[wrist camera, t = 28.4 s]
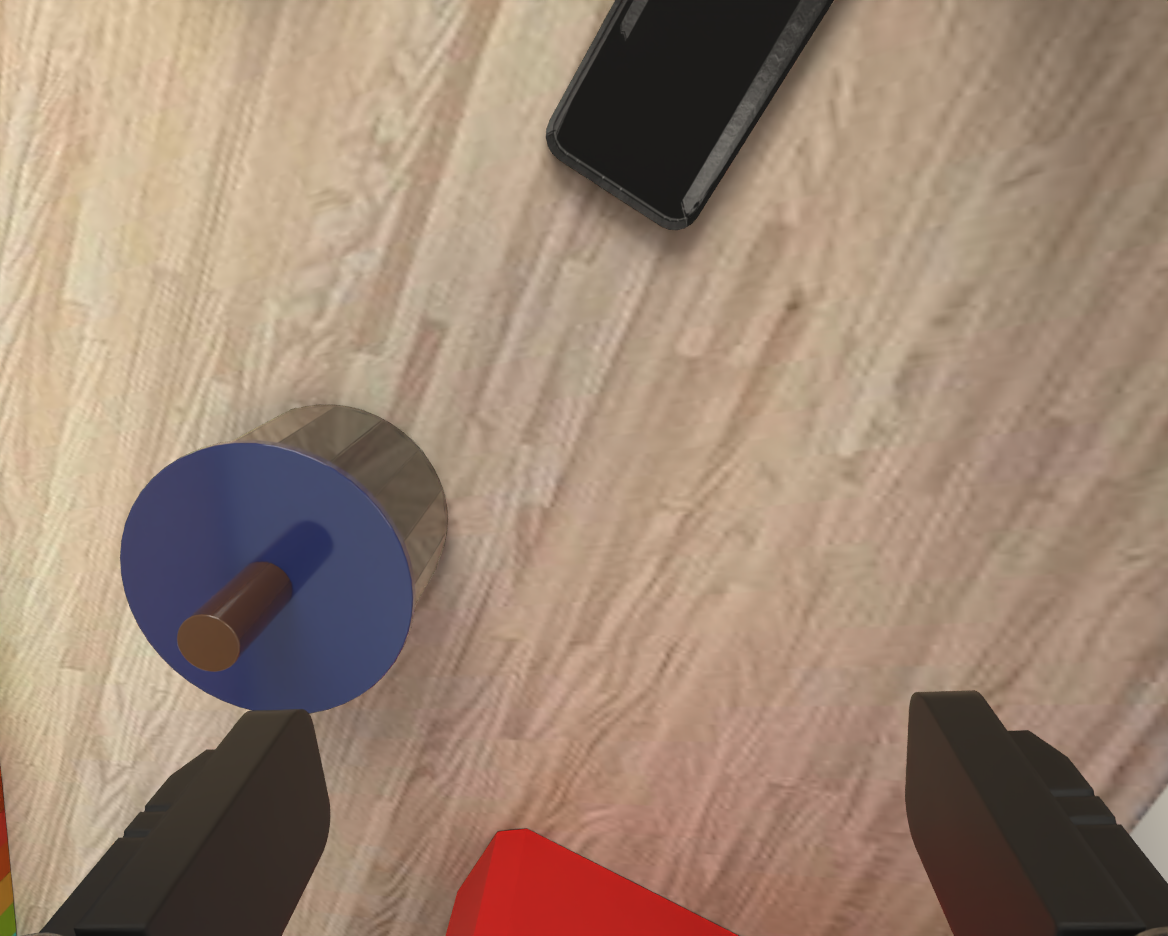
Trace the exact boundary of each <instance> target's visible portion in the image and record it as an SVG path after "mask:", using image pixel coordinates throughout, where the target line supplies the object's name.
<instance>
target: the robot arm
mask: <svg viewBox="0 0 1168 936" xmlns="http://www.w3.org/2000/svg"><path fill="white" fill-rule="evenodd" d="M905 802H906V811H907V818H908V823H909V828H910V832H911V836H912V839H913V842H914V845H915V847H916V850H917V852H918V854H919V857H920V859H921V861H922V863H923V866H924V868H925V870H926V873H927V875H928V877H929V879H930V882H931V884H932V886H933V889H934V891H935V893H936V896H937V898H938V900H939V902H940V905H941V907H942V909H943V912H944V914H945V916H946V918H947V921H948V923H949V925H950V928H951V930H952V932H953V934H954V936H1168V883H1167V882H1166V881H1165V880H1164V878H1163V877H1162V876H1161V875H1160V873H1159V872H1158V871H1157V870H1156V868H1155V867H1154V866H1153V864H1152V863H1151V862H1150V861H1149V859H1148V858H1147V857H1146V856H1145V854H1144V853H1143V852H1142V851H1141V849H1140V848H1139V847H1138V845H1137V844H1136V843H1135V842H1134V840H1133V839H1132V838H1131V837H1130V835H1129V834H1128V833H1127V832H1126V830H1125V829H1124V828H1123V826H1122V825H1117V823H1116V820H1115V816H1114V815H1113V814H1112V813H1111V811H1110V810H1109V809H1108V807H1107V806H1106V805H1105V804H1104V802H1103V801H1102V800H1101V799H1100V797H1099V796H1095V795H1094V791H1093V789H1092V787H1091V786H1090V785H1089V783H1088V782H1087V781H1086V780H1085V778H1084V777H1083V776H1082V775H1081V773H1080V772H1079V771H1078V770H1077V768H1076V767H1075V766H1074V764H1073V763H1072V762H1071V761H1070V759H1069V758H1068V757H1067V756H1065V755H1064V754H1062V753H1061V752H1059V751H1058V750H1056V749H1055V748H1054V747H1052V746H1051V745H1049V744H1048V743H1046V742H1045V741H1043V740H1042V739H1040V738H1039V737H1037V736H1036V735H1035V734H1033V733H1032V732H1030V731H1029V730H1025V731H1007V730H1006V728H1005V727H1004V725H1003V724H1002V723H1001V721H1000V720H999V718H998V717H997V716H996V714H995V713H994V711H993V710H992V709H991V707H990V706H989V704H988V703H987V702H986V700H985V699H984V697H983V696H982V695H981V694H980V693H979V692H977V691H975V690H974V691H941V692H915V693H914V694H913V695H912V697H911V700H910V706H909V723H908V744H907V765H906V785H905ZM329 827H330V802H329V797H328V792H327V787H326V782H325V778H324V773H323V768H322V763H321V758H320V754H319V749H318V744H317V739H316V734H315V730H314V725H313V721H312V719H311V716H310V715H309V713H308V712H307V711H306V710H304V709H287V710H254V711H248V712H246V713H245V714H244V715H243V716H242V717H241V718H240V719H239V720H238V722H237V723H236V724H235V725H234V727H233V728H232V729H231V731H230V732H229V733H228V734H227V736H226V737H225V738H224V739H223V741H222V742H221V743H220V744H219V746H218V747H217V748H216V749H215V750H206V751H204V752H203V753H201V754H200V755H199V756H197V757H196V758H194V759H193V760H192V761H190V762H189V763H187V764H186V765H185V766H183V767H182V768H181V769H179V770H178V771H176V772H175V773H174V774H172V775H171V776H170V777H169V778H168V779H167V780H166V782H165V783H164V784H163V785H162V786H161V788H160V789H159V790H158V791H157V792H156V794H155V795H154V796H153V797H152V798H151V800H150V801H149V802H148V803H147V804H146V806H145V811H144V812H140V813H139V814H138V815H137V816H136V818H135V819H134V820H133V821H132V822H131V823H130V825H129V826H128V827H127V828H126V829H125V831H124V836H123V838H118V839H117V840H116V841H115V843H114V844H113V845H112V846H111V847H110V849H109V850H108V851H107V852H106V853H105V855H104V856H103V857H102V858H101V859H100V861H99V862H98V863H97V864H96V865H95V866H94V868H93V869H92V870H91V871H90V872H89V874H88V875H87V876H86V877H85V878H84V880H83V881H82V882H81V883H80V884H79V886H78V887H77V888H76V889H75V890H74V892H73V893H72V894H71V895H70V896H69V898H68V899H67V900H66V901H65V902H64V904H63V905H62V906H61V907H60V908H59V909H58V911H57V912H56V913H55V914H54V915H53V917H52V918H51V919H50V920H49V921H48V923H47V924H46V925H45V926H44V927H43V929H42V930H41V931H40V932H39V933H34V934H28V935H23V936H282V934H283V932H284V930H285V928H286V926H287V924H288V922H289V920H290V918H291V916H292V914H293V912H294V910H295V908H296V906H297V904H298V902H299V900H300V898H301V896H302V894H303V892H304V890H305V888H306V886H307V884H308V882H309V880H310V878H311V876H312V874H313V872H314V869H315V867H316V865H317V863H318V861H319V859H320V857H321V855H322V853H323V851H324V848H325V845H326V842H327V838H328V833H329Z"/></svg>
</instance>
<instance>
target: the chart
mask: <svg viewBox="0 0 1168 936" xmlns="http://www.w3.org/2000/svg"><path fill="white" fill-rule="evenodd" d="M10 871H11V870H10V860H9V850H8V839H7V829H6V819H5V809H4V798H3V788H2V778H1V768H0V936H16V925H15V915H14V905H13V902H14V901H13V891H12V881H11V872H10Z"/></svg>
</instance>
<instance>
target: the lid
mask: <svg viewBox="0 0 1168 936" xmlns="http://www.w3.org/2000/svg"><path fill="white" fill-rule="evenodd" d="M120 563H121V576H122V581H123V586H124V591H125V594H126V597H127V600H128V603H129V606H130V609H131V611H132V613H133V615H134V617H135V619H136V622H137V624H138V626H139V627H140V629H141V631H142V632H143V634H144V635H145V637H146V638H147V640H148V641H149V643H150V644H151V645H152V647H153V648H154V649H155V650H156V651H157V653H158V654H159V655H160V656H161V657H162V658H163V659H164V660H165V661H166V662H167V663H168V664H169V665H170V666H171V667H172V668H173V669H174V670H175V671H176V672H177V673H179V674H180V675H181V676H182V677H184V678H185V679H186V680H187V681H189V682H190V683H192V684H193V685H195V686H196V687H198V688H199V689H201V690H203V691H204V692H206V693H208V694H210V695H212V696H214V697H216V698H218V699H220V700H222V701H225V702H227V703H230V704H233V705H235V706H238V707H241V708H245V709H249V710H253V711H254V710H287V709H304V710H306V711H307V712H308V713H314V712H319V711H324V710H328V709H331V708H334V707H337V706H339V705H342V704H345V703H347V702H349V701H351V700H353V699H354V698H356V697H358V696H360V695H361V694H363V693H364V692H366V691H367V690H369V689H370V688H371V687H373V686H374V685H375V684H376V683H377V682H378V681H379V680H380V679H381V678H382V677H383V676H384V675H385V674H386V673H387V672H388V670H389V669H390V668H391V666H392V665H393V664H394V663H395V661H396V659H397V657H398V656H399V654H400V652H401V650H402V648H403V647H404V645H405V643H406V640H407V638H408V635H409V632H410V629H411V626H412V621H413V617H414V612H415V596H416V592H415V580H414V573H413V569H412V564H411V560H410V556H409V554H408V551H407V548H406V546H405V543H404V540H403V538H402V536H401V534H400V532H399V530H398V529H397V527H396V525H395V523H394V521H393V520H392V518H391V517H390V516H389V514H388V513H387V511H386V510H385V508H384V507H383V506H382V505H381V503H380V502H379V501H378V500H377V499H376V498H375V497H374V496H373V494H372V493H371V492H370V491H369V490H368V489H367V488H365V487H364V486H363V485H362V484H361V483H360V482H359V481H358V480H356V479H355V478H354V477H353V476H351V475H350V474H348V473H347V472H346V471H344V470H343V469H341V468H340V467H338V466H337V465H335V464H333V463H331V462H329V461H328V460H326V459H324V458H322V457H320V456H318V455H315V454H313V453H310V452H308V451H305V450H303V449H300V448H297V447H293V446H289V445H285V444H281V443H276V442H268V441H261V440H237V441H230V442H222V443H217V444H214V445H210V446H206V447H203V448H200V449H198V450H196V451H193V452H191V453H189V454H186V455H184V456H182V457H181V458H179V459H177V460H176V461H174V462H173V463H171V464H169V465H168V466H166V467H165V468H164V469H163V470H161V471H160V472H159V473H158V474H157V475H156V476H155V477H153V478H152V479H151V480H150V482H149V483H148V484H147V485H146V486H145V488H144V489H143V490H142V491H141V492H140V494H139V496H138V498H137V499H136V501H135V503H134V504H133V506H132V508H131V510H130V513H129V516H128V518H127V521H126V523H125V527H124V532H123V536H122V540H121V554H120Z"/></svg>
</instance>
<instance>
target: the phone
mask: <svg viewBox="0 0 1168 936" xmlns="http://www.w3.org/2000/svg"><path fill="white" fill-rule="evenodd" d="M833 1H834V0H615V2H614V4H613V5H612V7H611V9H610V11H609V13H608V15H607V16H606V18H605V20H604V22H603V24H602V25H601V27H600V29H599V31H598V33H597V35H596V36H595V38H594V40H593V42H592V44H591V46H590V47H589V49H588V51H587V53H586V55H585V57H584V58H583V60H582V62H581V64H580V66H579V67H578V69H577V71H576V73H575V75H574V77H573V78H572V80H571V82H570V84H569V86H568V88H567V89H566V91H565V93H564V95H563V97H562V99H561V100H560V102H559V104H558V106H557V108H556V109H555V111H554V113H553V115H552V117H551V119H550V120H549V123H548V126H547V129H546V140H547V145H548V147H549V149H550V151H551V152H552V154H553V155H554V156H555V157H556V158H557V159H559V160H560V161H561V162H563V163H564V164H566V165H568V166H569V167H571V168H572V169H574V170H575V171H577V172H578V173H580V174H581V175H583V176H584V177H586V178H588V179H589V180H591V181H592V182H594V183H595V184H597V185H598V186H600V187H601V188H603V189H604V190H606V191H608V192H609V193H611V194H612V195H614V196H615V197H617V198H618V199H620V200H621V201H623V202H624V203H626V204H628V205H629V206H631V207H632V208H634V209H635V210H637V211H638V212H640V213H641V214H643V215H644V216H646V217H648V218H649V219H651V220H652V221H654V222H655V223H657V224H658V225H660V226H662V227H664V228H666V229H669V230H680V229H684V228H686V227H688V226H689V225H691V224H692V223H693V222H694V221H695V220H696V218H697V217H698V216H699V214H700V212H701V211H702V209H703V208H704V206H705V205H706V203H707V201H708V200H709V198H710V197H711V195H712V193H713V192H714V190H715V189H716V187H717V185H718V184H719V182H720V181H721V179H722V178H723V176H724V174H725V173H726V171H727V170H728V168H729V166H730V165H731V163H732V162H733V160H734V158H735V157H736V155H737V154H738V152H739V150H740V149H741V147H742V146H743V144H744V143H745V141H746V139H747V138H748V136H749V135H750V133H751V131H752V130H753V128H754V127H755V125H756V123H757V122H758V120H759V119H760V117H761V116H762V114H763V112H764V111H765V109H766V108H767V106H768V104H769V103H770V101H771V100H772V98H773V96H774V95H775V93H776V92H777V90H778V88H779V87H780V85H781V84H782V82H783V81H784V79H785V77H786V76H787V74H788V73H789V71H790V69H791V68H792V66H793V65H794V63H795V61H796V60H797V58H798V57H799V55H800V53H801V52H802V50H803V49H804V47H805V46H806V44H807V42H808V41H809V39H810V38H811V36H812V34H813V33H814V31H815V30H816V28H817V26H818V25H819V23H820V22H821V20H822V19H823V17H824V15H825V14H826V12H827V11H828V9H829V7H830V6H831V4H832V3H833Z"/></svg>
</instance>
